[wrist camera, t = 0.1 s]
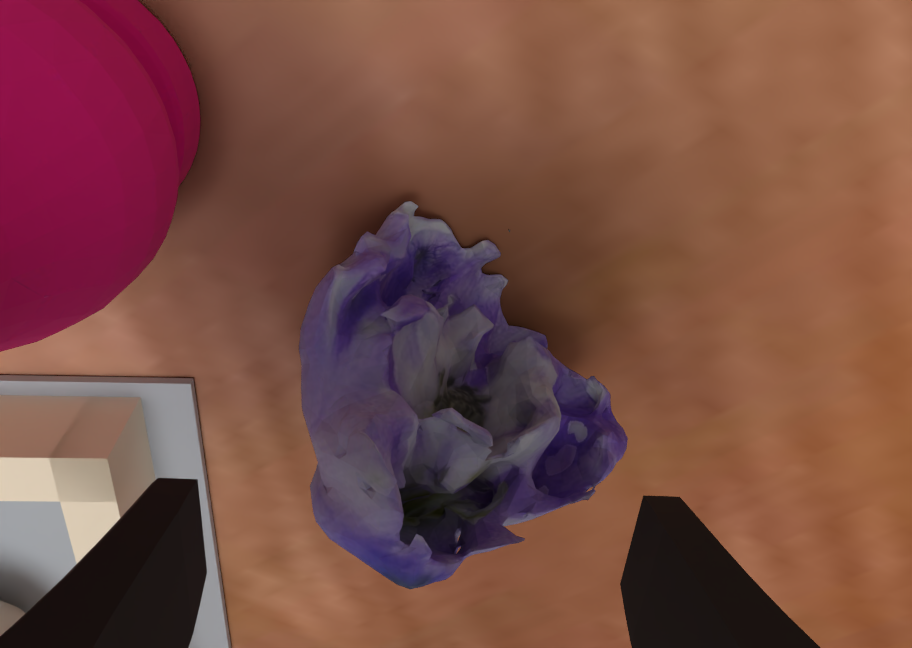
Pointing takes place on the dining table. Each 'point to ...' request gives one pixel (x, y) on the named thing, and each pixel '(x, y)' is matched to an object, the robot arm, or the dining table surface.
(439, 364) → the flower
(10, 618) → the garlic bulb
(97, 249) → the pepper mill
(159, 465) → the cubby board
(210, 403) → the dining table surface
